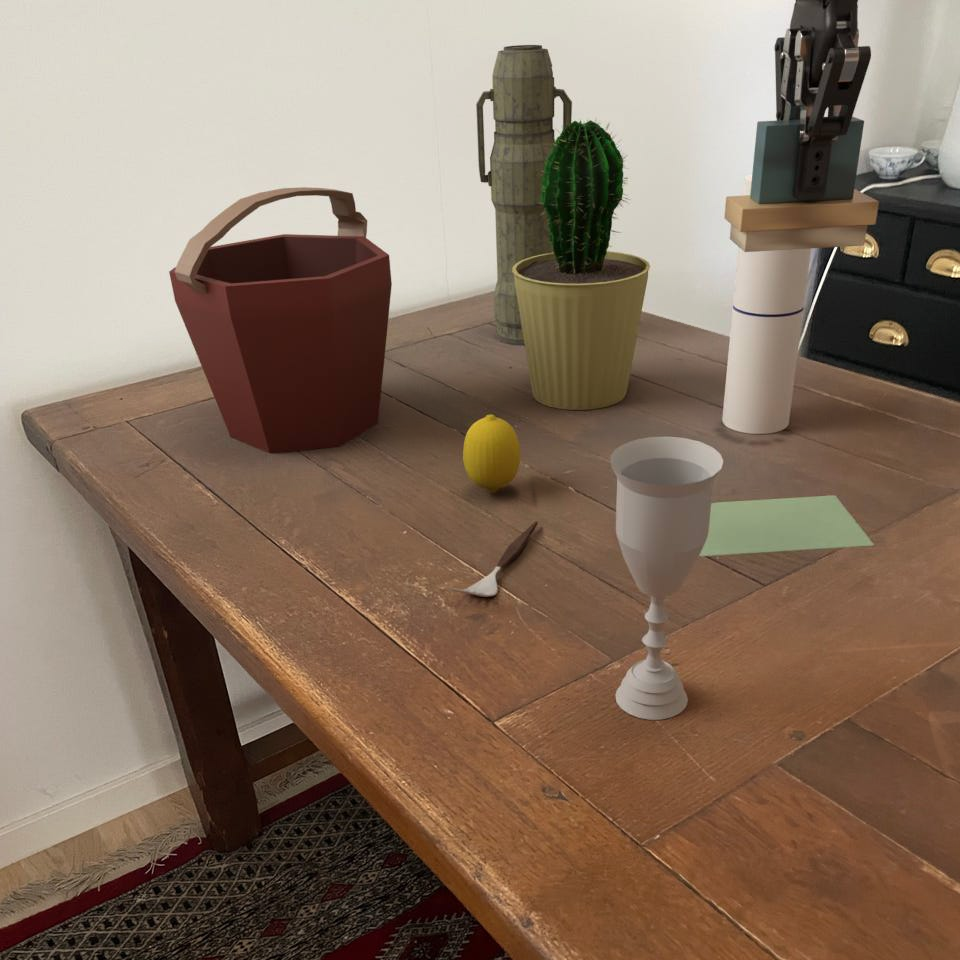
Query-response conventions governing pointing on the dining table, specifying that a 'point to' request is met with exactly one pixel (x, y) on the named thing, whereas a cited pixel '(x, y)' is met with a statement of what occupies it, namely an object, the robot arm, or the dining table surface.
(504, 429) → the lemon
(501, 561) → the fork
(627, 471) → the chalice
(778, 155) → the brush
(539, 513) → the dining table surface
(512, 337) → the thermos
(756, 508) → the mat
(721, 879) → the dining table surface
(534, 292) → the potted cactus
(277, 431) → the bucket
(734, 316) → the cylindrical container
